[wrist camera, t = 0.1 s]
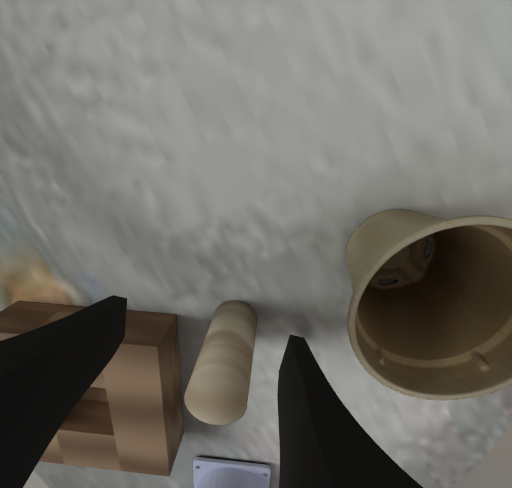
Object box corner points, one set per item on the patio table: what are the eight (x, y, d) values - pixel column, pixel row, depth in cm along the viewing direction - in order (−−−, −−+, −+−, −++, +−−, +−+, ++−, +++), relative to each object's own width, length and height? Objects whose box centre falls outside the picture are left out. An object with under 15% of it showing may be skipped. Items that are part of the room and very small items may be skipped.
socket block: (183, 432, 29) (169, 476, 25) (50, 418, 30) (17, 458, 26) (176, 314, 24) (157, 347, 20) (17, 301, 25) (-29, 329, 21)
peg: (256, 338, 24) (245, 428, 17) (214, 335, 25) (185, 421, 17) (258, 302, 23) (247, 380, 16) (213, 298, 23) (182, 374, 16)
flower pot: (300, 223, 21) (313, 278, 13) (434, 157, 18) (554, 172, 10) (352, 323, 23) (391, 422, 15) (475, 275, 21) (598, 362, 13)
